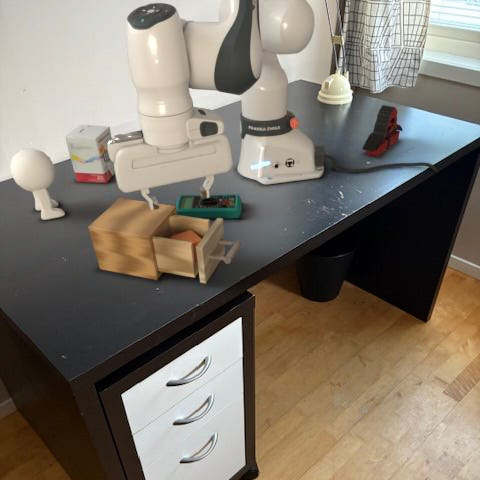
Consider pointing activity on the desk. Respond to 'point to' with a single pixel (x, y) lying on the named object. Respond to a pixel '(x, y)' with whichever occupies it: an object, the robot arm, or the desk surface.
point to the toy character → (36, 179)
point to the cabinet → (129, 237)
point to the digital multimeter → (209, 206)
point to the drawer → (181, 252)
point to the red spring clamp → (383, 132)
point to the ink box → (90, 153)
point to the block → (189, 240)
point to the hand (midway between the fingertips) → (179, 202)
